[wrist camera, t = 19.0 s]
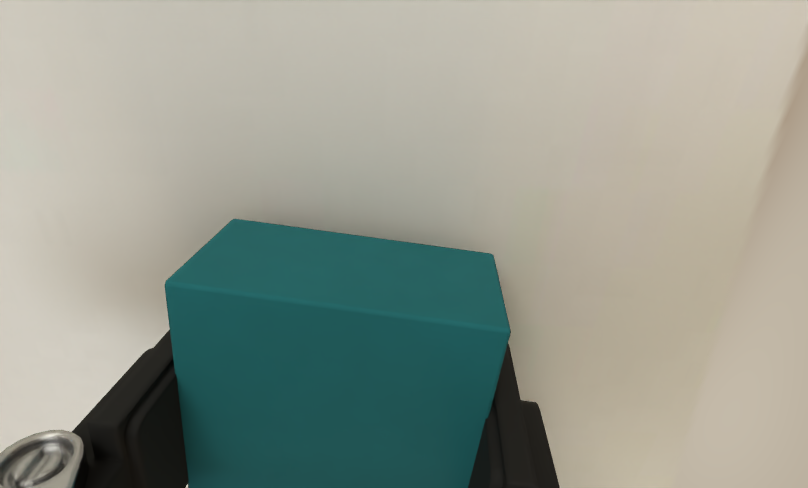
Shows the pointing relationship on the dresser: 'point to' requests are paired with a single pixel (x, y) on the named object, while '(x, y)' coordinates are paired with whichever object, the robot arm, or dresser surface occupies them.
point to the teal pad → (333, 359)
